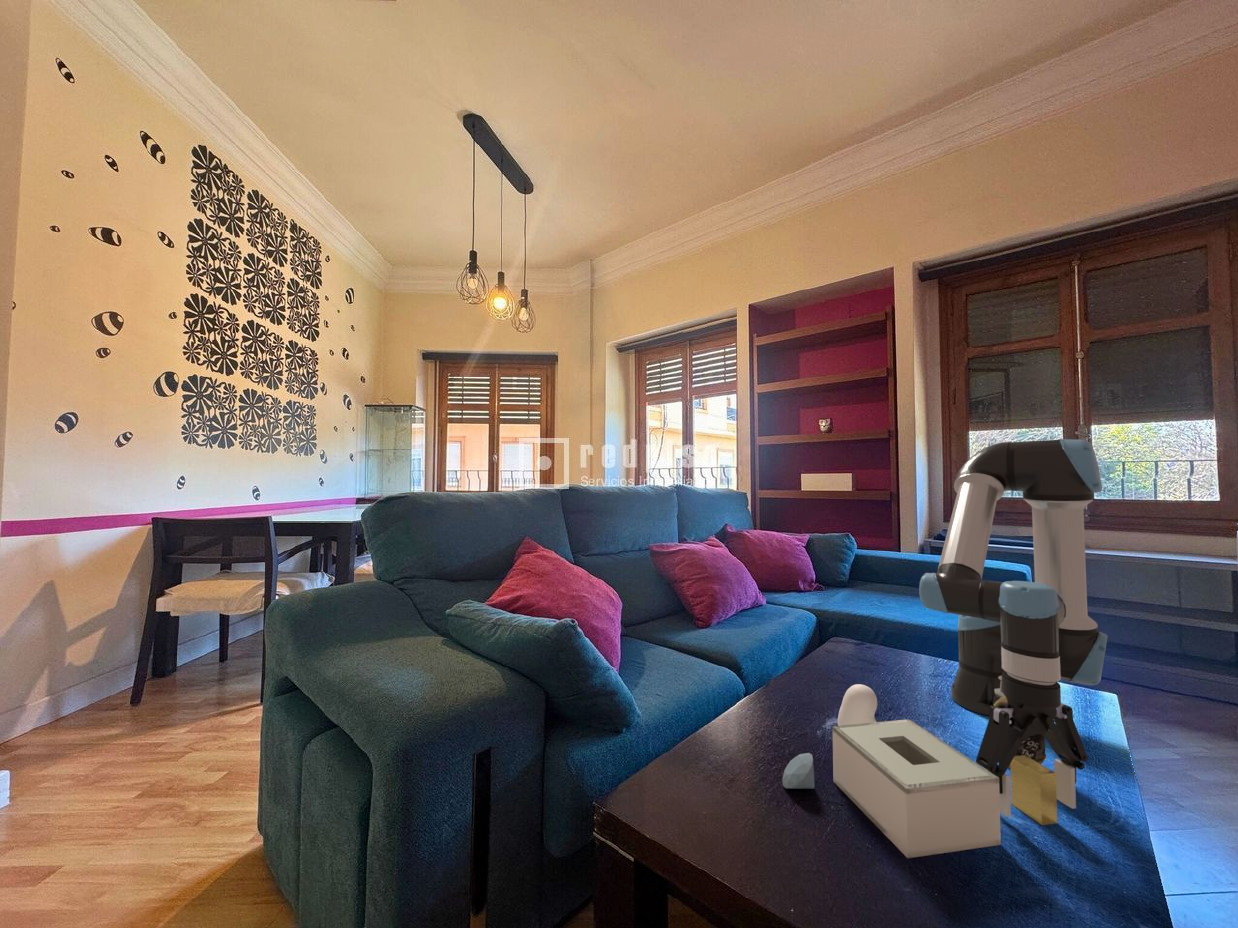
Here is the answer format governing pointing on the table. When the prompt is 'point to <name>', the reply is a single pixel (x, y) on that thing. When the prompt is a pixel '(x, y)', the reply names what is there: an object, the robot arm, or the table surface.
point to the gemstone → (799, 772)
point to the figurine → (858, 706)
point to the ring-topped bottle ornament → (1034, 744)
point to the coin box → (916, 787)
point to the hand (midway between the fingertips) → (1033, 807)
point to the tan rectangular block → (1034, 789)
